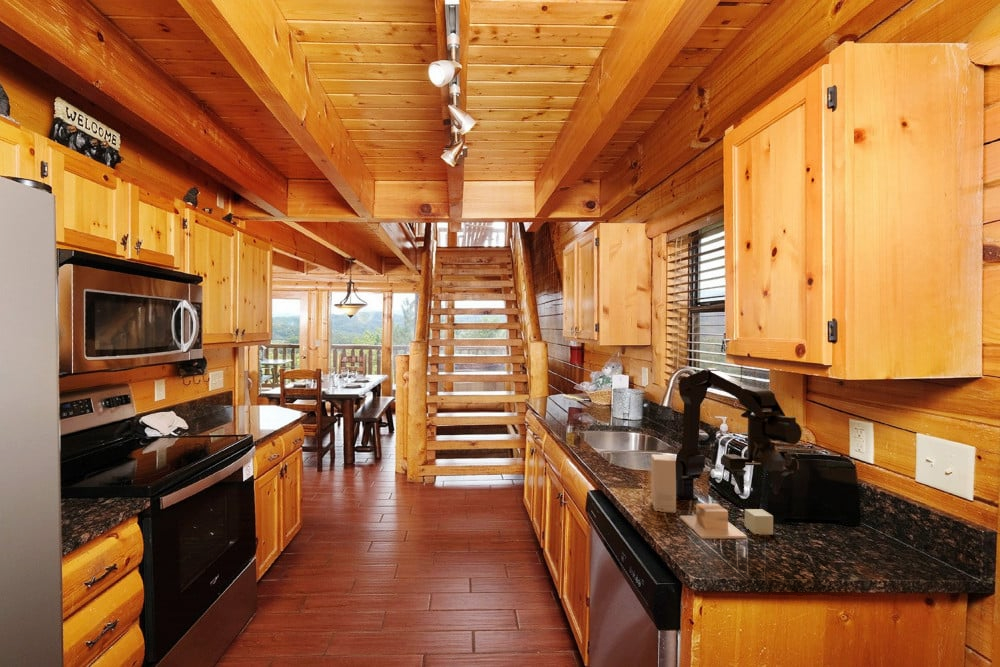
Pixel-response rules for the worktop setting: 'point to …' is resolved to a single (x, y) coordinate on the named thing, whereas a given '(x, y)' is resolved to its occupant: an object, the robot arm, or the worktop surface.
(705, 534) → the baseplate
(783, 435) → the robot arm
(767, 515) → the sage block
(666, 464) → the skincare box
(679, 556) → the worktop surface
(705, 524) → the maple block
